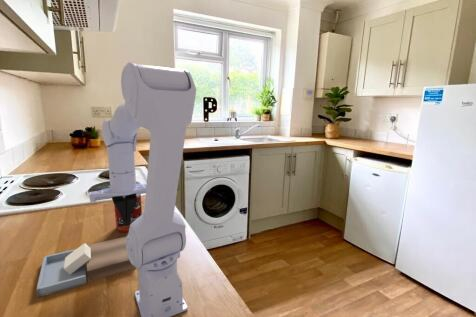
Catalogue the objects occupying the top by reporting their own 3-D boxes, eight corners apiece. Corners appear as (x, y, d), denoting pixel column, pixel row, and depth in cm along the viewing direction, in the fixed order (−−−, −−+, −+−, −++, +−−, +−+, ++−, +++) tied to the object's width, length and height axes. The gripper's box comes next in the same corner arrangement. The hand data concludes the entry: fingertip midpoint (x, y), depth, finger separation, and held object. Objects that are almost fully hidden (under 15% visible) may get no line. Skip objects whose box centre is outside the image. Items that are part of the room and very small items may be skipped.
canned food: (115, 234, 76) (112, 199, 74) (117, 223, 83) (114, 191, 81) (143, 230, 79) (141, 196, 77) (142, 219, 86) (140, 188, 84)
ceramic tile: (90, 258, 59) (84, 253, 58) (70, 274, 57) (63, 269, 57) (90, 247, 63) (84, 242, 62) (71, 262, 62) (65, 257, 61)
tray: (86, 283, 55) (85, 276, 55) (37, 297, 51) (36, 289, 51) (85, 253, 66) (84, 247, 66) (45, 263, 62) (44, 256, 62)
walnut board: (136, 267, 61) (136, 258, 60) (88, 281, 56) (87, 271, 55) (128, 244, 71) (127, 236, 71) (86, 254, 66) (85, 245, 65)
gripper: (149, 164, 68) (152, 212, 71) (86, 170, 61) (92, 223, 64) (156, 170, 63) (158, 222, 65) (87, 178, 55) (93, 236, 58)
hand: (126, 223), depth 64 cm, fingers closed
